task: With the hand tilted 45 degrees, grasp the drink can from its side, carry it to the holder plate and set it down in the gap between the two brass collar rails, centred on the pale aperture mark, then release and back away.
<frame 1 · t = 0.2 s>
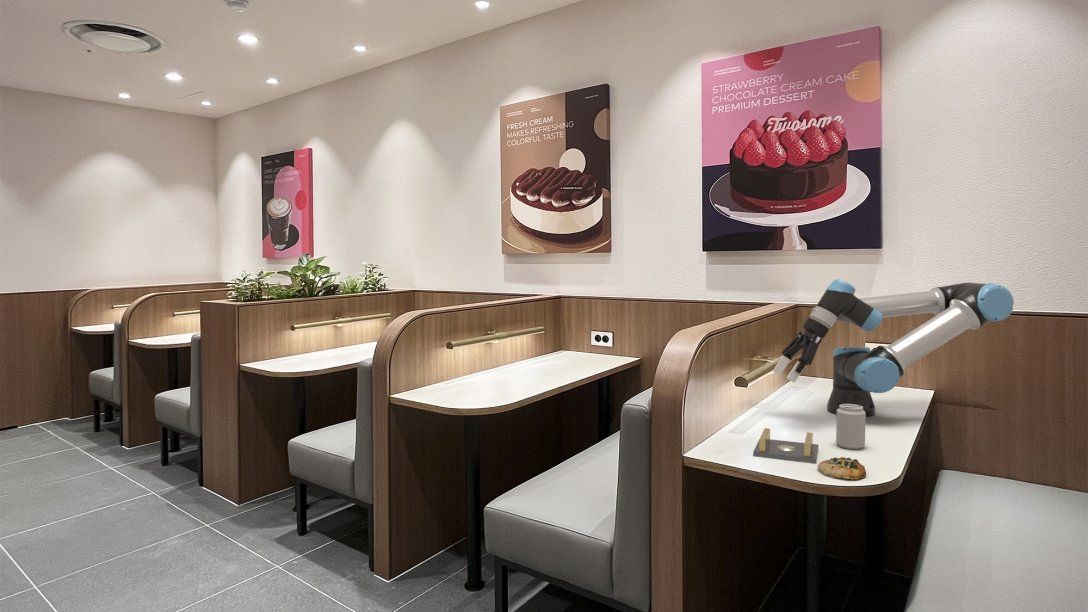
hand: (782, 377, 204), 15 cm above the table, tool tilted 35°, fingers open, 13 cm apart
holder plate: (786, 452, 174), on the table
bread roll: (841, 475, 157), on the table
can: (850, 447, 178), on the table
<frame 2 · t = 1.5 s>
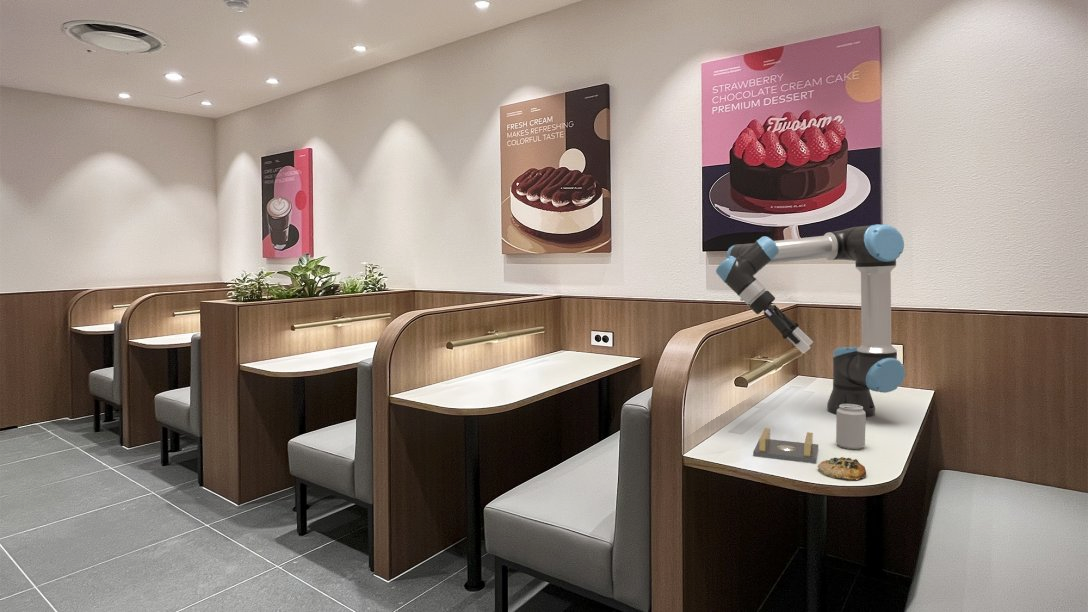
hand: (808, 348, 187), 27 cm above the table, tool tilted 45°, fingers open, 13 cm apart
nothing on the table moved.
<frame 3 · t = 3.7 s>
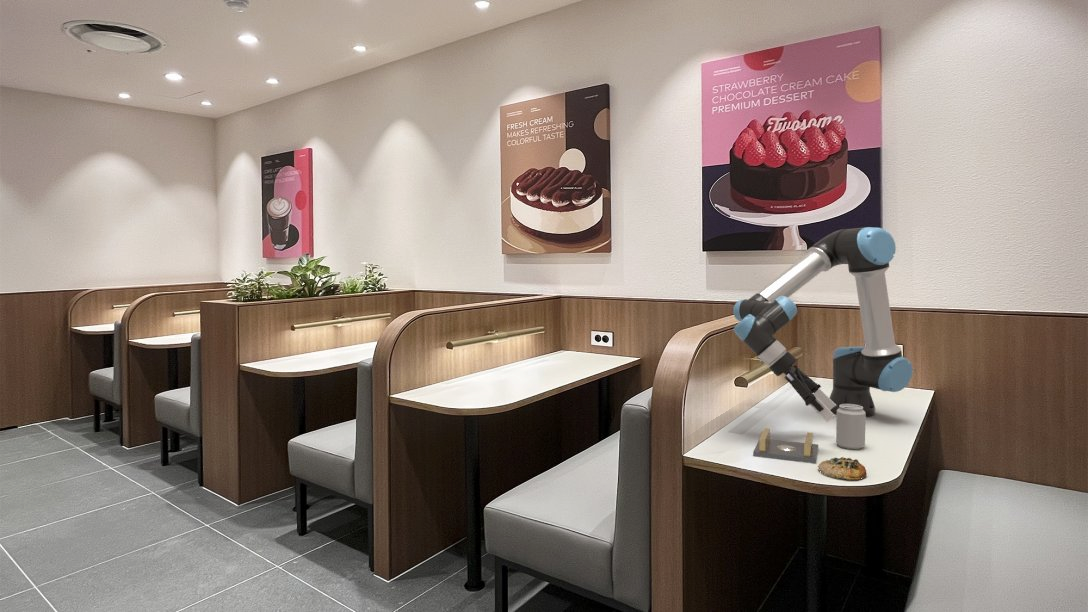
hand: (831, 413, 179), 9 cm above the table, tool tilted 45°, fingers open, 13 cm apart
nothing on the table moved.
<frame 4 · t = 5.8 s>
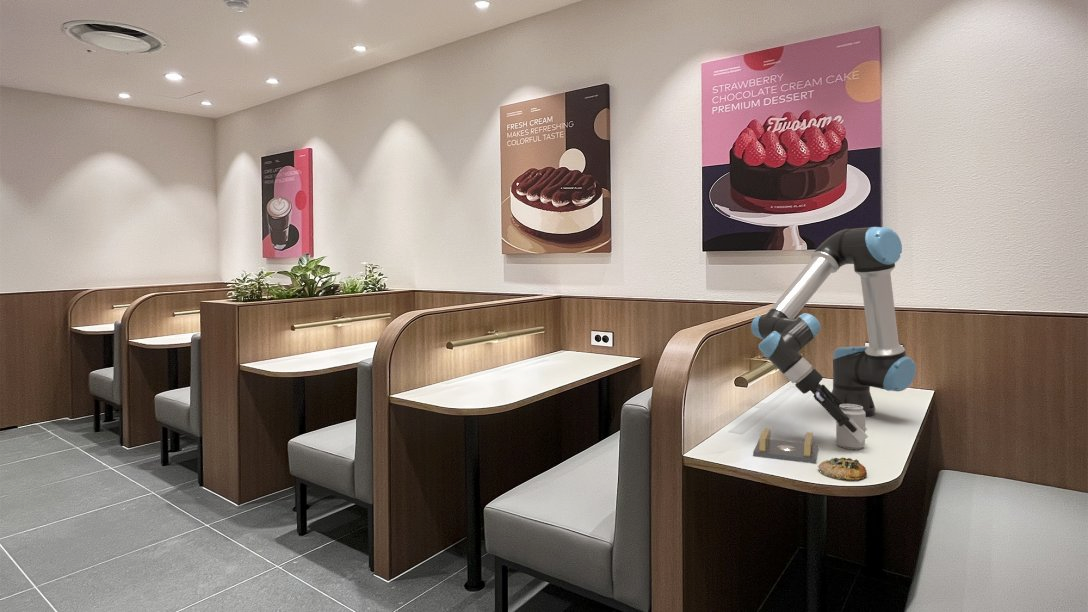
hand: (863, 435, 177), 4 cm above the table, tool tilted 45°, fingers closed on can, 7 cm apart
can: (850, 447, 178), on the table, touching gripper
everything else where it was.
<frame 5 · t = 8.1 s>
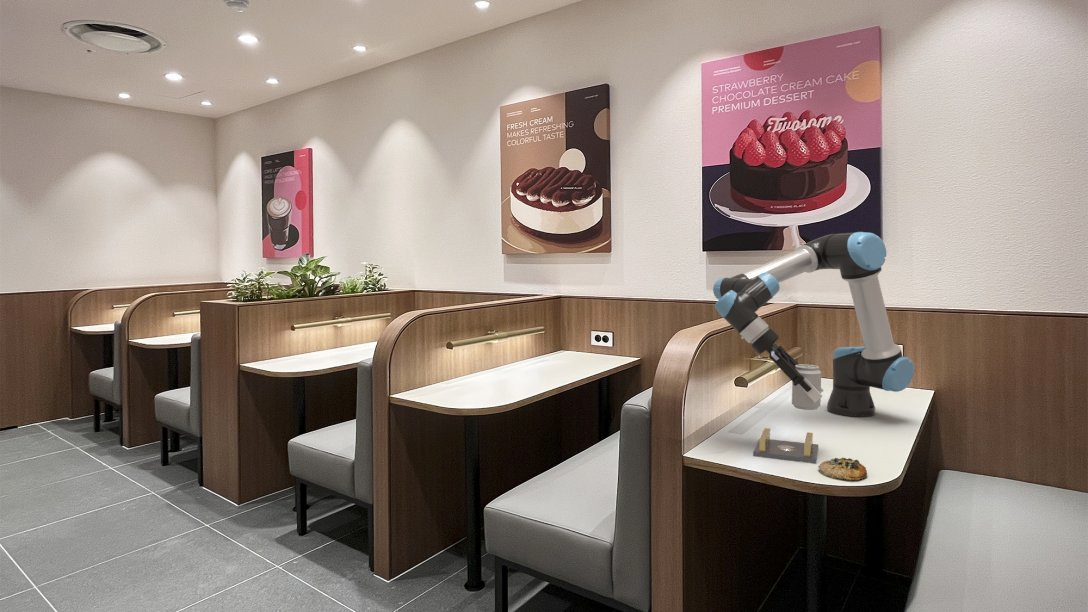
hand: (819, 396, 172), 16 cm above the table, tool tilted 45°, fingers closed on can, 7 cm apart
can: (805, 408, 174), point 12 cm above the table, touching gripper
everything else where it was.
when the fingers open (6 cm above the table, at t = 10.5 s): can drops 2 cm, resting on holder plate.
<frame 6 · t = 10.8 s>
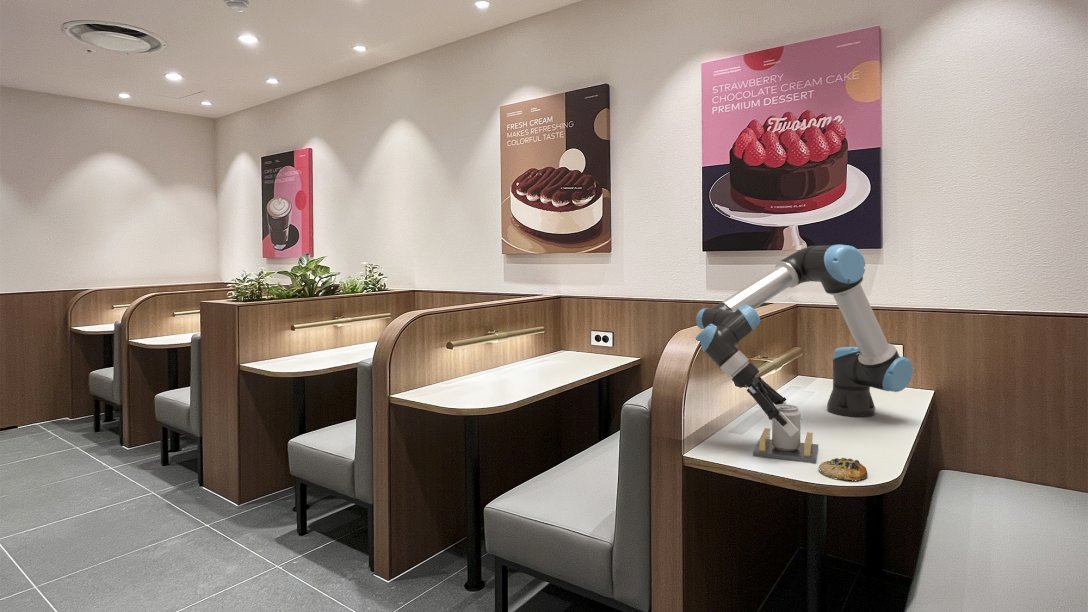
hand: (796, 427, 173), 7 cm above the table, tool tilted 45°, fingers open, 12 cm apart
can: (786, 448, 174), point 1 cm above the table, touching holder plate
everything else where it was.
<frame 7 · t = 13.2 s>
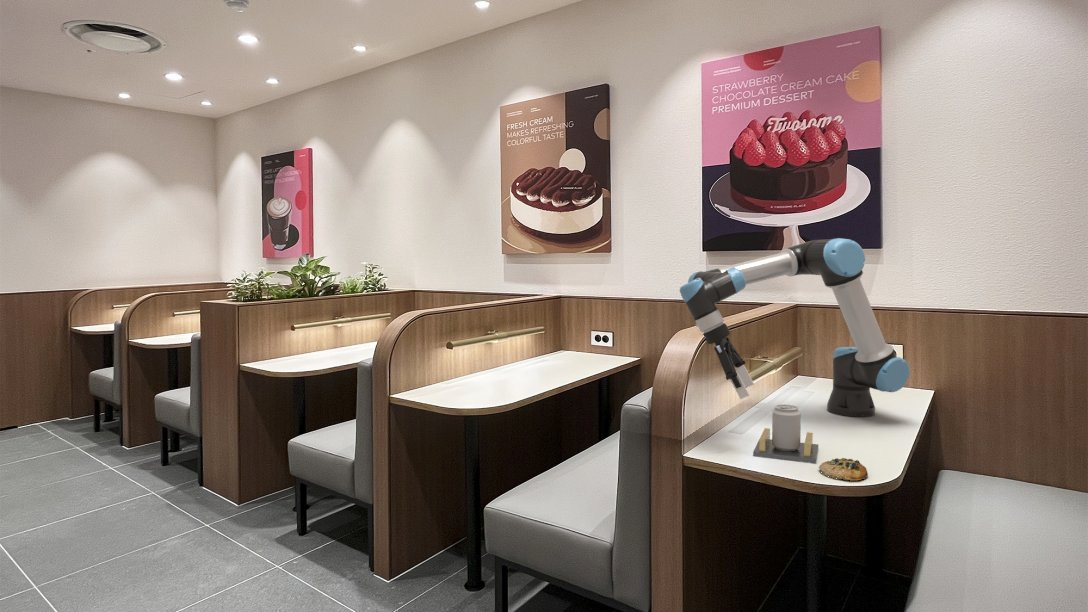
hand: (747, 391, 183), 15 cm above the table, tool tilted 30°, fingers open, 13 cm apart
nothing on the table moved.
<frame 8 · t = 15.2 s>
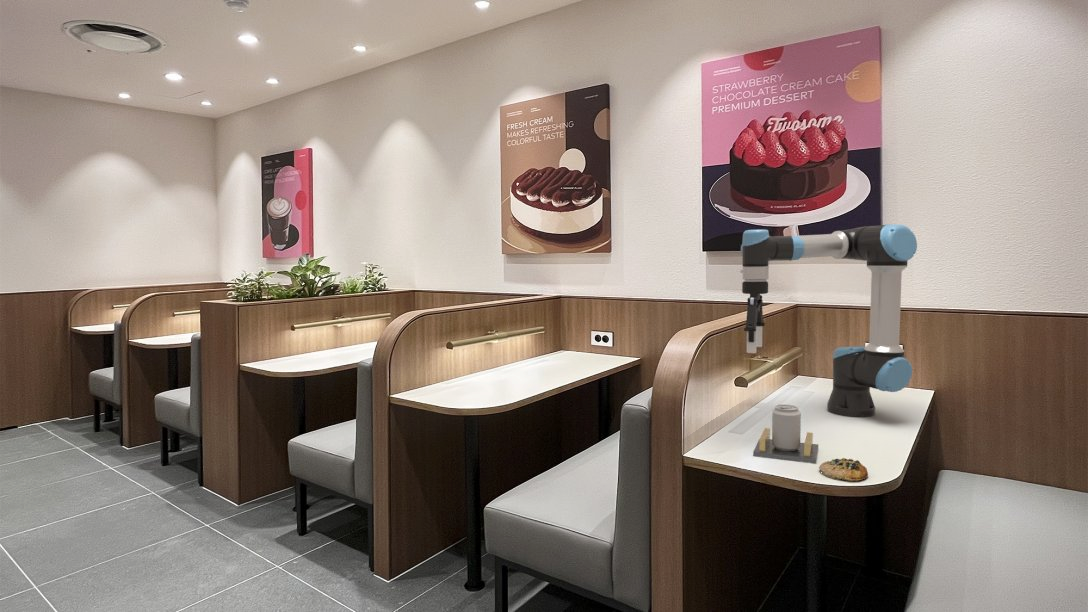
hand: (754, 349, 189), 27 cm above the table, tool pointing down, fingers open, 13 cm apart
nothing on the table moved.
at the end: can inside the target area on the holder plate (0.2 cm from its centre), point 1.1 cm above the holder plate's base; can tilted 0°; the gripper is holding nothing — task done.
